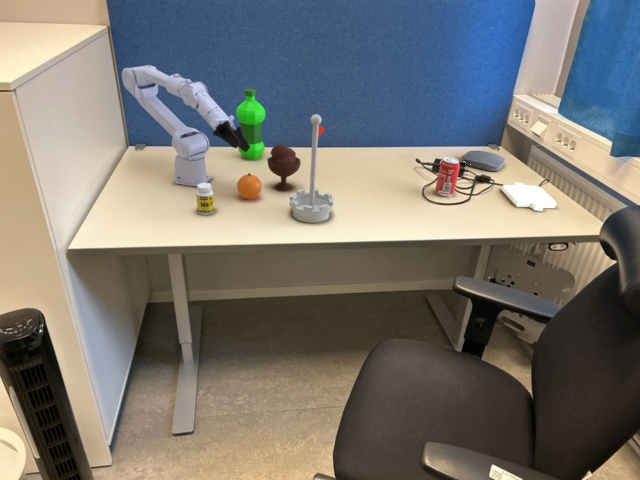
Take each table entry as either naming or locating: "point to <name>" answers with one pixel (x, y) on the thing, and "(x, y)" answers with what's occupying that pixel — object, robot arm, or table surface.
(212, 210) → the supplement bottle
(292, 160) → the ice cream bowl
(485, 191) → the table surface
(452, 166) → the beverage can
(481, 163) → the media streaming box
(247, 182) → the orange
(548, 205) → the mounting plate
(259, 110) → the plastic bottle
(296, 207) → the flag stand
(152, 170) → the table surface
